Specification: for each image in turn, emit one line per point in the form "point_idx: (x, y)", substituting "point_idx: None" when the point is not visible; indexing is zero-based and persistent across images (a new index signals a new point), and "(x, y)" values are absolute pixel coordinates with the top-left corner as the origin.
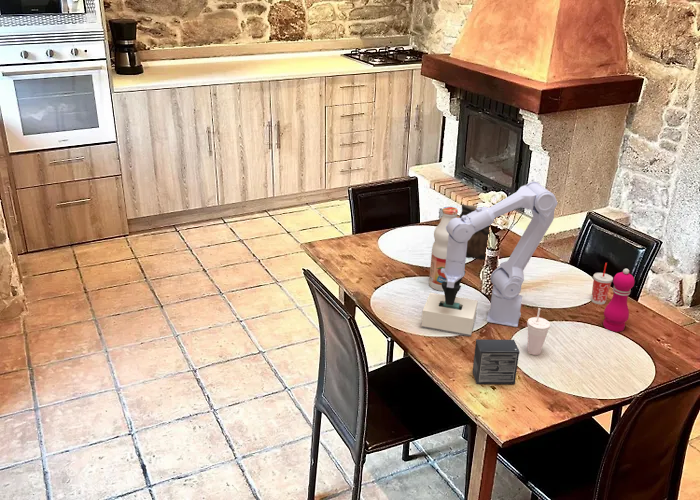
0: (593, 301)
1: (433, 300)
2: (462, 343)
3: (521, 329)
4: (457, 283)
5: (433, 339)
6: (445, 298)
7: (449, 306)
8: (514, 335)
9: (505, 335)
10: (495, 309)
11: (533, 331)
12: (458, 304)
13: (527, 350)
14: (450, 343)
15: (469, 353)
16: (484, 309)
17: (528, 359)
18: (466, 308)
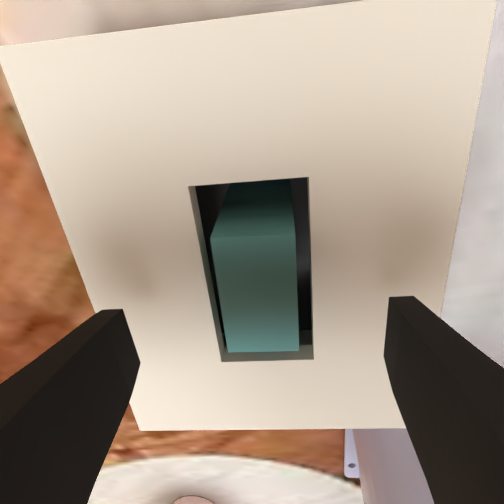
0: None
1: (286, 100)
2: (90, 316)
3: (335, 478)
4: (439, 483)
5: (20, 174)
6: (42, 356)
7: (219, 283)
8: (276, 464)
9: (260, 442)
10: (376, 473)
11: None
12: (272, 347)
13: (187, 497)
14: (49, 268)
15: (32, 352)
16: (492, 354)
17: (136, 498)
18: (262, 386)
